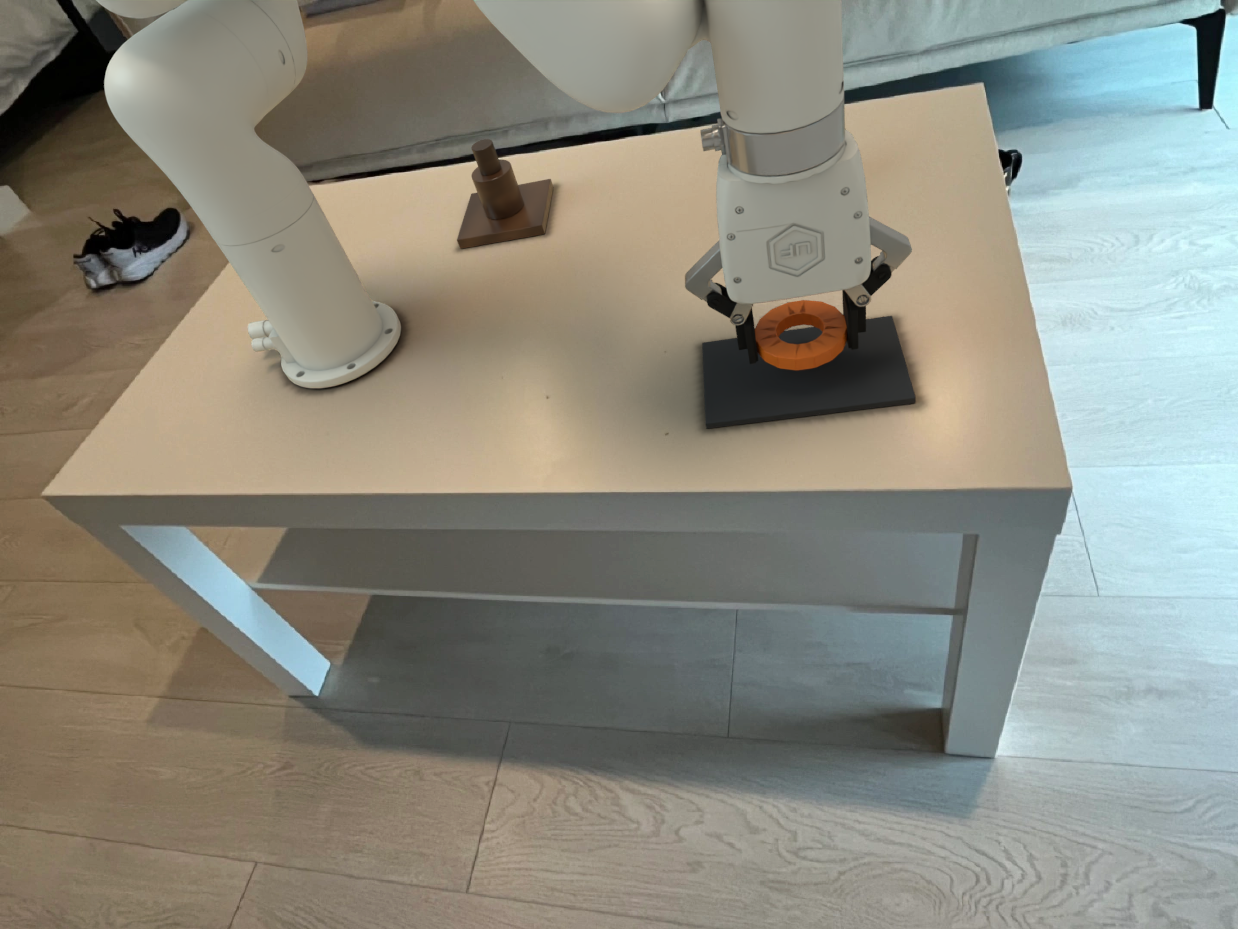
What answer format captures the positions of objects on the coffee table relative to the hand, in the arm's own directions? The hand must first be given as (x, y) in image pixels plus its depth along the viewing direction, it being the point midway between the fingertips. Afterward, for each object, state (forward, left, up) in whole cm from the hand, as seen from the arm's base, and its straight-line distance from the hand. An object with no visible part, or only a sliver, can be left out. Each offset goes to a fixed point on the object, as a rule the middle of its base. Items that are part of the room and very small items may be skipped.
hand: (801, 343), depth 65 cm
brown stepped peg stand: (-30, +33, -3) cm, 45 cm away
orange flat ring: (0, 0, 0) cm, 0 cm away
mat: (0, 0, -3) cm, 3 cm away
